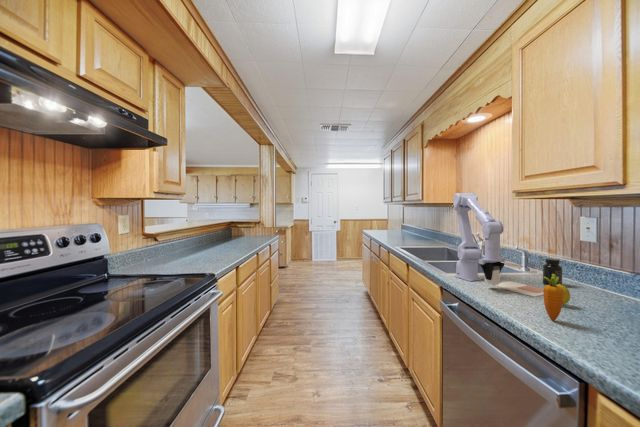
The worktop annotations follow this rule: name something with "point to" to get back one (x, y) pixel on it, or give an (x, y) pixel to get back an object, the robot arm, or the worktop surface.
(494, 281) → the grey rectangular block
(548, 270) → the supplement bottle
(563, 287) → the lemon
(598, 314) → the worktop surface
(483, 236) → the robot arm
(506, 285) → the paper sheet
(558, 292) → the carrot
